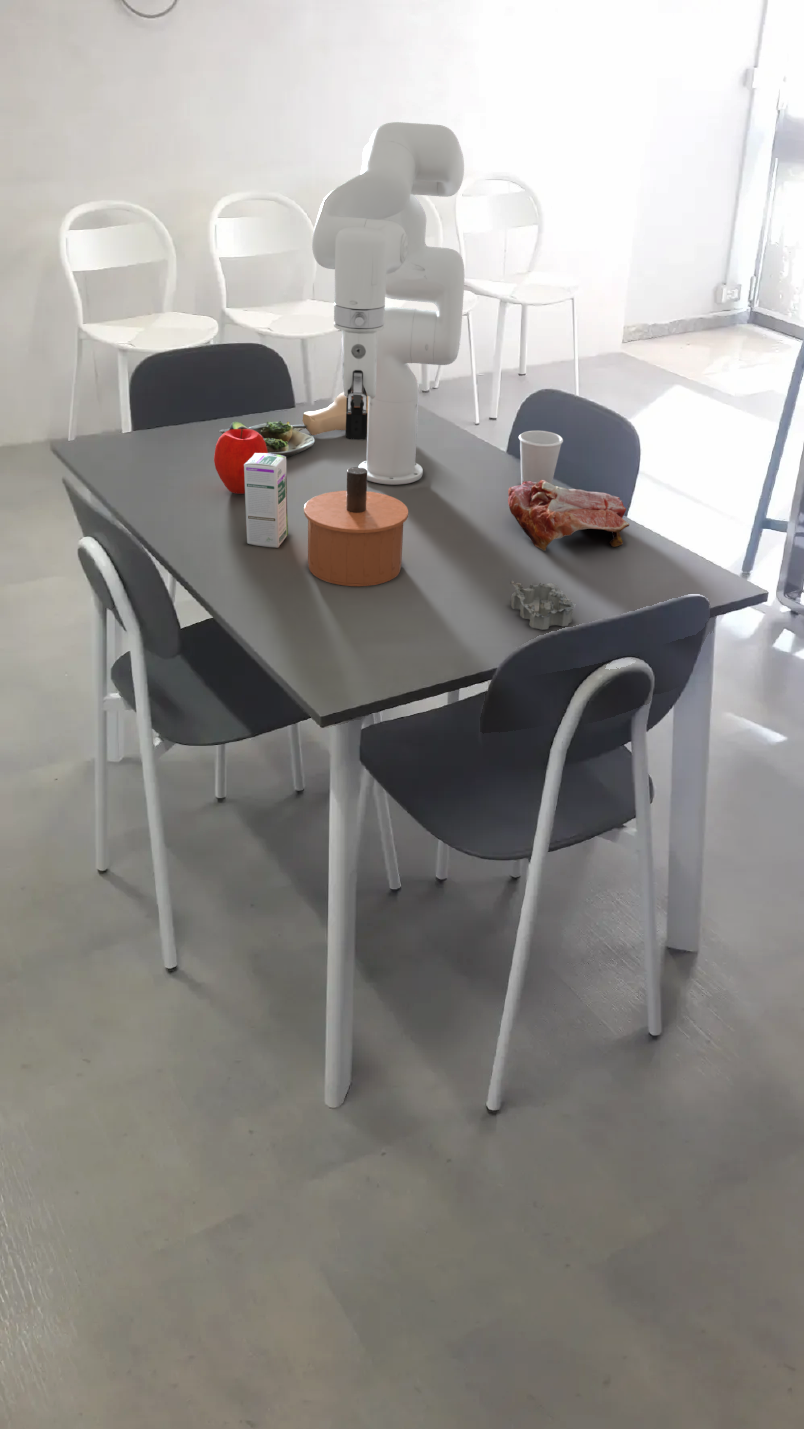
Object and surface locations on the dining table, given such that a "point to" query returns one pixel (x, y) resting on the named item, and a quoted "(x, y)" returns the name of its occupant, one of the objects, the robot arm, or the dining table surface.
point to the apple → (236, 456)
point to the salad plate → (280, 437)
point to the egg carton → (542, 605)
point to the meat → (564, 512)
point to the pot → (354, 555)
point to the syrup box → (266, 499)
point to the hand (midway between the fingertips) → (356, 429)
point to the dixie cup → (539, 455)
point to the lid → (356, 508)
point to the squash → (328, 417)
